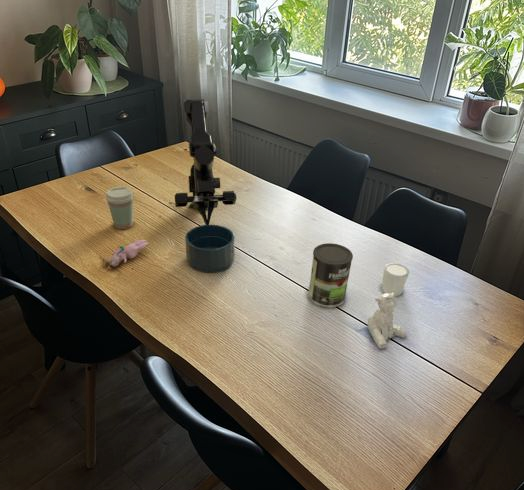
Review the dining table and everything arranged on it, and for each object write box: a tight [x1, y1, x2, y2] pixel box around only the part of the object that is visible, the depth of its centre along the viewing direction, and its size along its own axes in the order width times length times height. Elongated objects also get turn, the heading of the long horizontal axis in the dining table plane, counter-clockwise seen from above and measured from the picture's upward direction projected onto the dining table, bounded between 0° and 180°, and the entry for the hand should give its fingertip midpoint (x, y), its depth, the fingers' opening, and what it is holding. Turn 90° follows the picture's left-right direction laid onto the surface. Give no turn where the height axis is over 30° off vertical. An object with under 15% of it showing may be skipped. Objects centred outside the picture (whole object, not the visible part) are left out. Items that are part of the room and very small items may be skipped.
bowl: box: [184, 224, 236, 274], centre depth 147 cm, size 14×14×8 cm
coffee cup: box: [105, 186, 134, 230], centre depth 160 cm, size 9×9×12 cm
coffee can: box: [307, 242, 354, 309], centre depth 133 cm, size 10×10×14 cm
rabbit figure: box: [102, 239, 150, 270], centre depth 146 cm, size 6×6×15 cm
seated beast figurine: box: [367, 293, 407, 350], centre depth 122 cm, size 10×9×12 cm
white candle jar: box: [381, 262, 410, 297], centre depth 139 cm, size 7×7×7 cm
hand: (207, 225), depth 152 cm, fingers closed
